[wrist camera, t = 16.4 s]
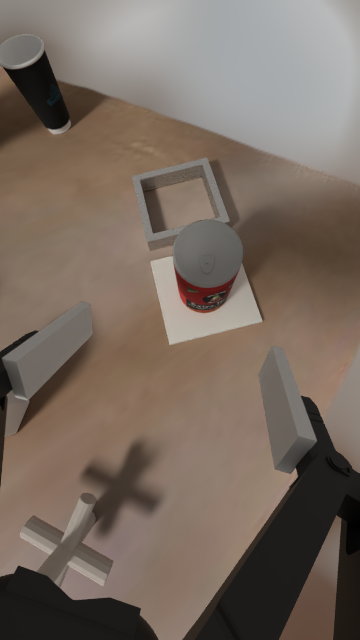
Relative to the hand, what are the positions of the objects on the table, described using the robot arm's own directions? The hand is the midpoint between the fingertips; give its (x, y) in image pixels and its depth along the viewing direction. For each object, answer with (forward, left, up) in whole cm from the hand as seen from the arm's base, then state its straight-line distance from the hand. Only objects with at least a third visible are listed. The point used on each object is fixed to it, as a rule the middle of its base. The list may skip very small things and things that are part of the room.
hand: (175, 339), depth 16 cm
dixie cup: (-52, -14, -17) cm, 57 cm away
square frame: (-25, +5, -17) cm, 31 cm away
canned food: (-9, +5, -17) cm, 20 cm away
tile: (-9, +5, -17) cm, 20 cm away
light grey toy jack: (+17, -17, -17) cm, 29 cm away
